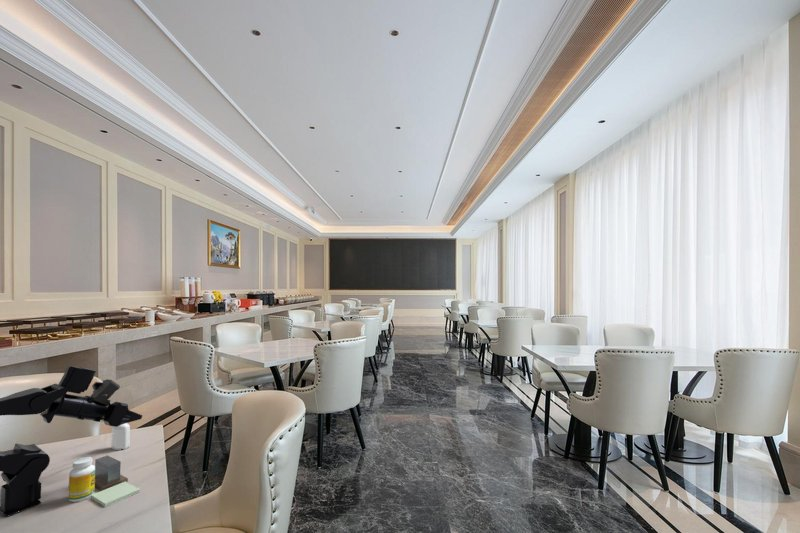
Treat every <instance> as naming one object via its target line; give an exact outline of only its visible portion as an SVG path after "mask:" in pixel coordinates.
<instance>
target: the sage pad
mask: <svg viewBox="0 0 800 533" xmlns="http://www.w3.org/2000/svg"><path fill="white" fill-rule="evenodd" d="M138 493H141V489H140V488H139V487H138V486H135V485H134V484H132V483H129V481H128V482H126V481H125V482H123V483H120V484H118V485H115V486H113V487H110V488H108V489H105V490H103V491H101V490H100V491H98V492H94V494H93V495H91V497H90V498H91V499H92V500H93V501H95V502H97V503H98V504H100V505H101V506H103V507H104V508H106V507H108V506H111V505H113V504H115V503H118V502H120V501H122V500H125V499H127V498H129V497H132V496H133V495H136V494H138Z"/></svg>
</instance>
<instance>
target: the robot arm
mask: <svg viewBox="0 0 800 533" xmlns="http://www.w3.org/2000/svg"><path fill="white" fill-rule="evenodd" d="M97 372H98V371H97V370H96V369H95V370H94V369H91V368H86V367H82V366H72V365H67V367H66V368H65V369H64V373H63V376H62V377H61V379H60V380H59V382H58V383H54V384H50V385H46V386H45V387H41V388H40V387H33V388H32V387H31V388H27V389H24V390H21V391H18V392H15V393H11V394H9V395H7V396H4V397H0V416H31V415H33V416H34V415H40V416H41V417H42V419H43V421H44V422H45V423H47V424H50V423H51V422H52V421H53V420H54V419H53V418H54V417H56V416H57V417H63V418H72V419H77V420H80V421H82V420H83V421H84V420H88V421H94V422H97V423H98V422H99V423H100V422H101V421H103V422H104V425H105V426H109V427H113V426H115V427H118V426H120V425H122V424H125V423H128V424H129V423H131V422H136V421H139V420H142V418H143V414H140V413H138V412H135V411H132V410H130V409H129V405H128V403H124V402H121V401H114V402H112V403H111V400H110V398H111V397H112V396H113V395H114V394H115V392H117V391H118V390H119V389H120V387H121V385H120V384H118V383H117V382H115V381H114V380H113V379H108V378H107V379H103V380H102V382H101V381H96V382H94V383H93V384H92V385H91V383H92V381H93V379H94V378H95V376H96V374H97ZM90 385H91V387H92V389H93V391H92V393H91V395H90V396H89V395H85V396H82V395H81V394H82V393H85V391H88V389H89V387H90ZM69 393H71V394H69ZM72 393H73V394H72ZM74 394H75V395H74ZM76 394H78V395H76ZM79 394H80V395H79ZM50 458H51V457H50V456H49V454H48V453H46V452H45V450H43V449H41V447H38V445H36V444H35V443H32V444H22V443H21V444H20V443H15V444H14V446H13V449H7V450H0V472H1V474H0V476H1V479H2V480H3V482H4V483H6V484H2V485H1V486H0V488H1V490H0V511H1V512H2V513H1V512H0V513H1V514H2V515H3V514H4V515H5V516H4V515H3V516H4V517H9V516H8V515H10V516H12V515H14V513H15V514H17V513H16V512H18V511H20V512H22V510H23V511H25V509H26V510H28V509H30V508H33V507H36V506H38V505H41V503H42V502H41V500H40V499H41V498H42V482H41V481H39V480H40V477H41V475H42V474H43V472H44V471H45V470H46V469H47V468H48V466H49V465H50V461H51V460H50ZM27 508H28V509H27ZM18 513H19V512H18ZM11 514H12V515H11Z"/></svg>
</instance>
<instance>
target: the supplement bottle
mask: <svg viewBox="0 0 800 533" xmlns="http://www.w3.org/2000/svg"><path fill="white" fill-rule="evenodd" d="M92 463H93V457H92V456H85V457H80V458H77V459H75V460H74V461H73V462H72V469H71V470H70V471H69V474H68V500H67V501H69V502H71V503H76V502H77V503H78V502H82V501H85V500H87V499H89V498H91V495H93V494H95V488H96V487H95V464H92Z"/></svg>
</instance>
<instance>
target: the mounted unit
mask: <svg viewBox="0 0 800 533" xmlns="http://www.w3.org/2000/svg"><path fill="white" fill-rule="evenodd" d="M94 460H95V463H94V466H95V488H96V489H98V490H100V491H103V490H105V489H108V488H110V487H113V486H115V485H118V484H120V483H123V482H125V481H126V482H128V483H129V479H128V478H129V477H127V476H124V475H122V473H121V462H122V461H121V460H119V459H116V458H114V457H112V456H110V455H108V454H107V455H105V456H102V457H98V458H95V459H94Z"/></svg>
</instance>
